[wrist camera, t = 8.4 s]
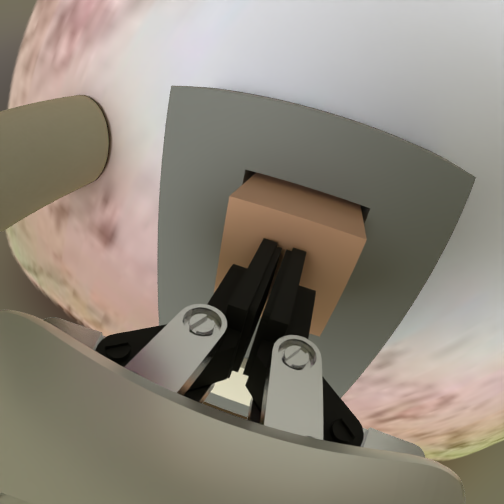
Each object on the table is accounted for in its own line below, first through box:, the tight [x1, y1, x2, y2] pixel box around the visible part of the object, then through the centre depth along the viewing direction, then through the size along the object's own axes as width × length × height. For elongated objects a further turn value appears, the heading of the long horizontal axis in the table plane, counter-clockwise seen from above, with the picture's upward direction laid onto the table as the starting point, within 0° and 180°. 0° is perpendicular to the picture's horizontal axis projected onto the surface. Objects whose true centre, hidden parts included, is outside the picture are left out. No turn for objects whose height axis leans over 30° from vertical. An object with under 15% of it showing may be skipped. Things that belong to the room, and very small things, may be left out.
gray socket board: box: [158, 86, 476, 417], centre depth 18 cm, size 14×24×5 cm, turn 169°
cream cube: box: [211, 358, 252, 406], centre depth 21 cm, size 5×5×5 cm
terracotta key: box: [214, 172, 367, 337], centre depth 13 cm, size 5×5×5 cm
